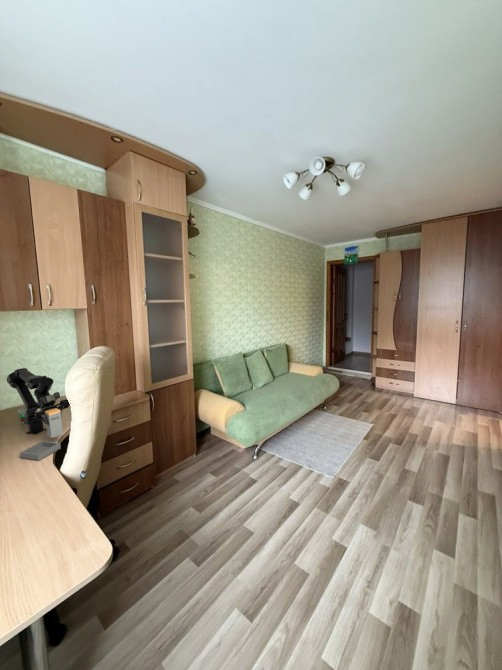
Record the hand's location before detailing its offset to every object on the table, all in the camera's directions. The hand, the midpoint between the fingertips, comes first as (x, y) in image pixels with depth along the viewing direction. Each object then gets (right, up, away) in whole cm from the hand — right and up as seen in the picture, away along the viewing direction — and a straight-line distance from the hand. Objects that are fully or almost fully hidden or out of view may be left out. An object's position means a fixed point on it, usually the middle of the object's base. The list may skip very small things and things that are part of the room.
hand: (54, 422), depth 134 cm
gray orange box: (-1, -7, +2) cm, 7 cm away
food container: (-33, -9, +28) cm, 44 cm away
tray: (-1, -12, -8) cm, 14 cm away
